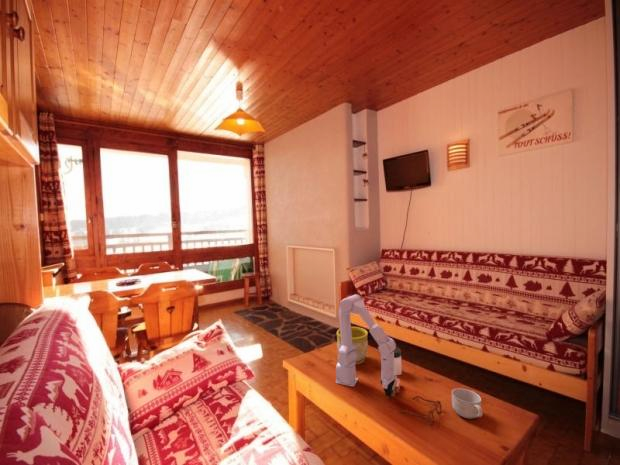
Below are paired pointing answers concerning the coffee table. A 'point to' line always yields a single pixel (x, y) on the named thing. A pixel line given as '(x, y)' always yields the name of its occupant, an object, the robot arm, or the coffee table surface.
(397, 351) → the jar
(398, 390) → the end cap
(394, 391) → the beige rectangular block
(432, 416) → the glasses
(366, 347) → the flowerpot
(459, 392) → the teacup
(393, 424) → the coffee table surface
